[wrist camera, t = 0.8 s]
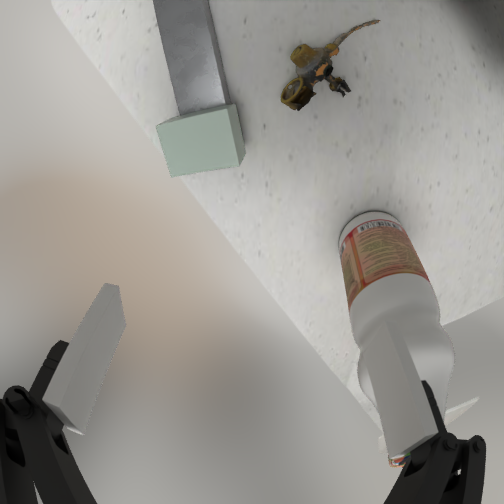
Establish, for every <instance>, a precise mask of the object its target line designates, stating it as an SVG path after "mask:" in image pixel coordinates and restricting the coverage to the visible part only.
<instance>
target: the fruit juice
mask: <svg viewBox="0 0 504 504" xmlns="http://www.w3.org/2000/svg"><path fill="white" fill-rule="evenodd" d="M339 254H340V259H341V265H342V271H343V276H344V282H345V289H346V295H347V301H348V308H349V317H350V324H351V329H352V333H353V337H354V340H355V342H356V344H357V346H358V347H359V349H360V356H359V361H358V369H357V373H358V380H359V384H360V387H361V390H362V391H363V393H364V394H365V396H366V397H367V398H368V399H369V400H370V401H371V402H372V404H373V405H374V407H375V408H376V410H377V412H378V413H379V411H378V407H377V403H376V399H375V395H374V391H373V388H372V384H371V380H370V377H369V373H368V370H367V366H366V363H365V359H364V356H363V354H364V352H365V351H366V349H367V348H368V346H369V345H370V343H371V342H372V340H373V338H374V337H375V335H376V334H377V332H378V331H379V329H380V327H381V326H382V324H383V323H384V321H396V322H397V325H398V327H399V329H400V331H401V334H402V336H403V338H404V340H405V343H406V345H407V348H408V350H409V352H410V355H411V357H412V360H413V362H414V365H415V367H416V370H417V372H418V375H419V377H420V380H426V381H427V383H428V384H429V385H430V387H431V388H432V391H433V393H434V396H435V397H434V398H435V399H436V402H437V406H438V407H439V410H440V413H441V416H442V419H443V422H444V417H445V411H446V403H447V396H448V388H449V382H450V377H451V374H452V371H453V367H454V362H455V353H454V348H453V344H452V341H451V339H450V337H449V335H448V334H447V332H446V331H445V330H444V328H443V327H442V326H441V324H440V308H439V304H438V301H437V298H436V295H435V292H434V289H433V287H432V285H431V283H430V281H429V279H428V276H427V274H426V272H425V270H424V268H423V266H422V264H421V261H420V259H419V257H418V255H417V253H416V251H415V249H414V247H413V245H412V243H411V241H410V240H409V238H408V236H407V234H406V232H405V230H404V228H403V227H402V225H401V224H400V223H399V222H398V220H397V219H395V218H394V217H392V216H391V215H389V214H386V213H383V212H368V213H364V214H361V215H359V216H357V217H355V218H354V219H353V220H351V221H350V222H349V223H348V224H347V225H346V227H345V228H344V230H343V231H342V233H341V236H340V240H339ZM410 456H411V455H410V452H409V453H407V454H406V455H404V456H402V457H399V458H394V459H390V460H389V465H390V467H403V466H404V465H405V463H404V464H402V465H401V466H398V465H399V463H400V462H401V461H403V460H405V459H406V458H408V457H410ZM388 458H389V455H388Z"/></svg>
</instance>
